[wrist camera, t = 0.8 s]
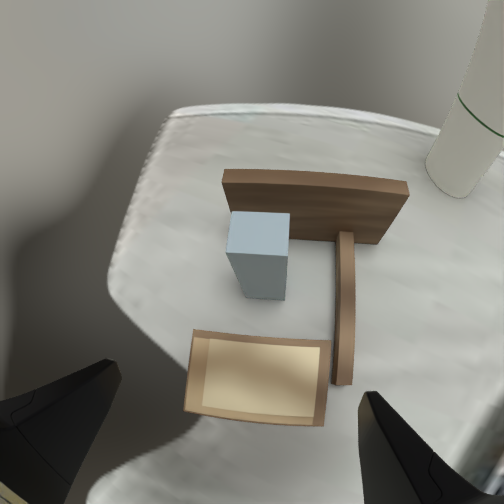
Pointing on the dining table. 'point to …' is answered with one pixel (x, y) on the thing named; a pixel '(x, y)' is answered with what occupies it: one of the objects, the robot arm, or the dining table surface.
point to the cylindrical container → (474, 114)
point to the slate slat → (259, 252)
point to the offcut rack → (282, 349)
